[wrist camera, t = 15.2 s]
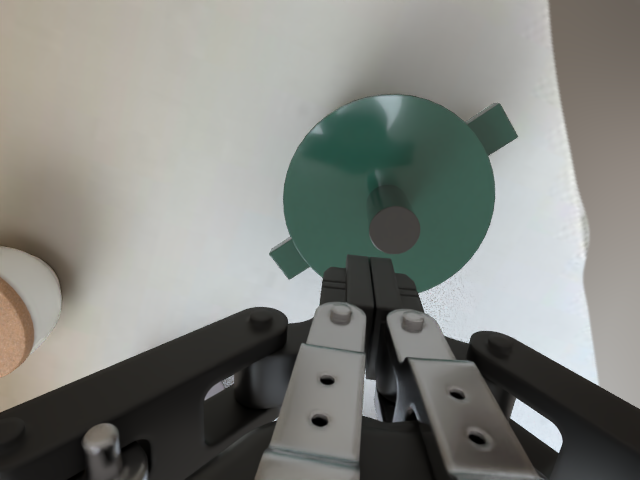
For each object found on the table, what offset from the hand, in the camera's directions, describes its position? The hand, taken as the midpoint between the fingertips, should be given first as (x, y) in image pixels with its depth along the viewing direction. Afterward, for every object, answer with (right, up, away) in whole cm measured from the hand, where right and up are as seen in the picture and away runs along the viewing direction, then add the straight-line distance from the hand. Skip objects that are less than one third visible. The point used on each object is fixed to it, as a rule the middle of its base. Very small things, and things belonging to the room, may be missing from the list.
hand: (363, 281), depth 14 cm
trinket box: (-29, -3, +26) cm, 40 cm away
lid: (+3, +4, +12) cm, 13 cm away
